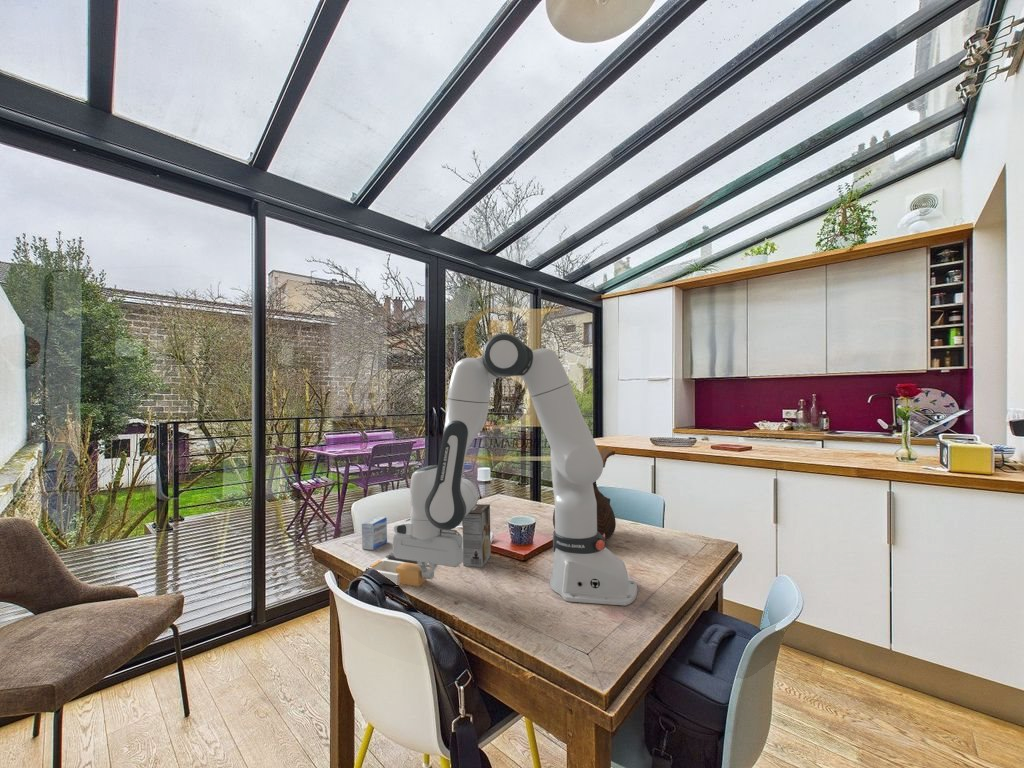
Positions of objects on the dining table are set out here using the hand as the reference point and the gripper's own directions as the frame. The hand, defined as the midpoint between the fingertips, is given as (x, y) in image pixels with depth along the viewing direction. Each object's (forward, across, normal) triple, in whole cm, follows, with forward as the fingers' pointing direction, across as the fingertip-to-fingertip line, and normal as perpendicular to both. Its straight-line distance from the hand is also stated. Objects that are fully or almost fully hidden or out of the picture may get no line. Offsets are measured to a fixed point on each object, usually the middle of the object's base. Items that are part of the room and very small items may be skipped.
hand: (427, 577), depth 118 cm
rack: (+2, +12, -4) cm, 13 cm away
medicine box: (+2, +32, -19) cm, 37 cm away
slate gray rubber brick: (+2, +13, -7) cm, 15 cm away
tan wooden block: (+2, +5, 0) cm, 6 cm away
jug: (+2, -33, -47) cm, 57 cm away
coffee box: (+2, -6, -19) cm, 20 cm away
